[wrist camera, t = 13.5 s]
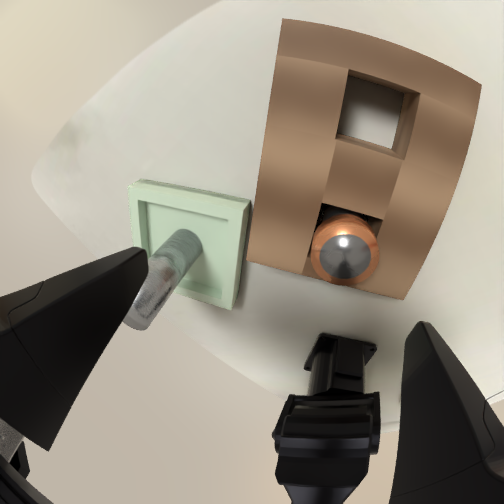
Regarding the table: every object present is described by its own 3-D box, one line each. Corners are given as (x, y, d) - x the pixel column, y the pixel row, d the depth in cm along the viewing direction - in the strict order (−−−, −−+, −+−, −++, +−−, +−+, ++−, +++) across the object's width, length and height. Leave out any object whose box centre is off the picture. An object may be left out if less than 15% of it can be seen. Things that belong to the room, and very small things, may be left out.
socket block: (396, 272, 21) (403, 300, 18) (257, 236, 22) (246, 260, 20) (458, 84, 12) (481, 84, 9) (290, 31, 13) (282, 18, 11)
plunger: (359, 250, 20) (365, 291, 16) (309, 236, 20) (303, 276, 16) (376, 202, 18) (389, 236, 14) (322, 187, 18) (320, 217, 14)
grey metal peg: (201, 262, 24) (151, 336, 17) (172, 254, 25) (116, 321, 17) (202, 233, 23) (145, 304, 15) (171, 225, 23) (107, 289, 16)
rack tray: (237, 296, 26) (231, 310, 25) (148, 269, 28) (138, 280, 26) (250, 200, 21) (243, 210, 19) (141, 179, 22) (127, 186, 21)
